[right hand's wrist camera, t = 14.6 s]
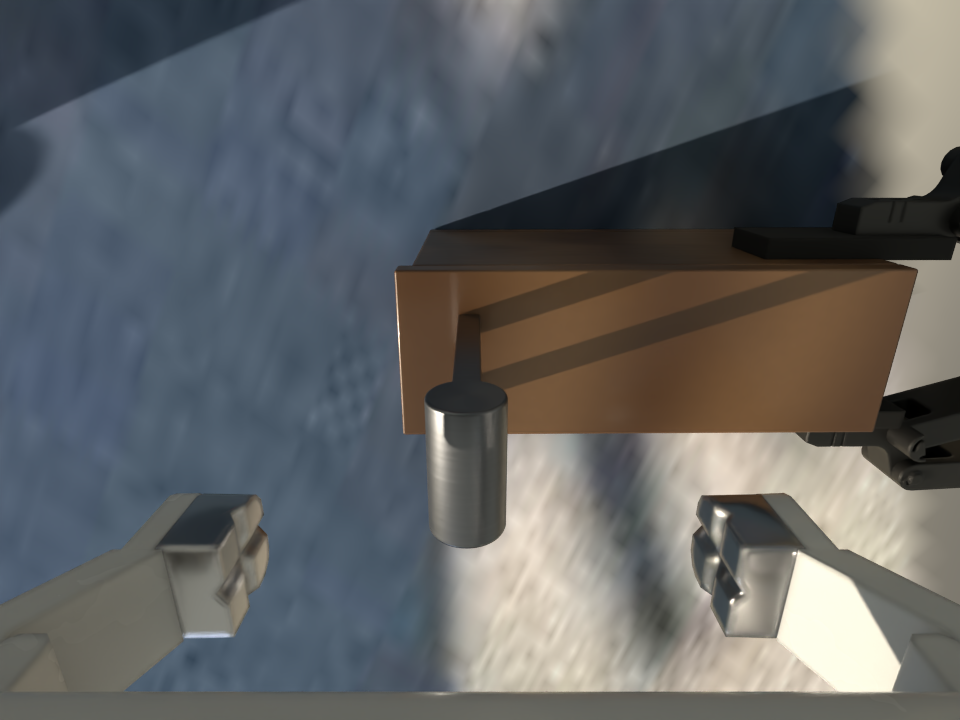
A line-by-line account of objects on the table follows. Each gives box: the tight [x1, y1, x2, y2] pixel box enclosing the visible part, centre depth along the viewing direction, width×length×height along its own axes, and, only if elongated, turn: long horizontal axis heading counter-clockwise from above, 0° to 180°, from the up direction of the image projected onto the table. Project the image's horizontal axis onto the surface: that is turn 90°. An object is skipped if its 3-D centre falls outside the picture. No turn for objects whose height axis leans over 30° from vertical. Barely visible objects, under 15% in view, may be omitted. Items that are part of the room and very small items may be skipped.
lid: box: [394, 264, 918, 548], centre depth 16 cm, size 17×6×8 cm, turn 90°
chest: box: [412, 229, 896, 266], centre depth 24 cm, size 16×6×8 cm, turn 90°
